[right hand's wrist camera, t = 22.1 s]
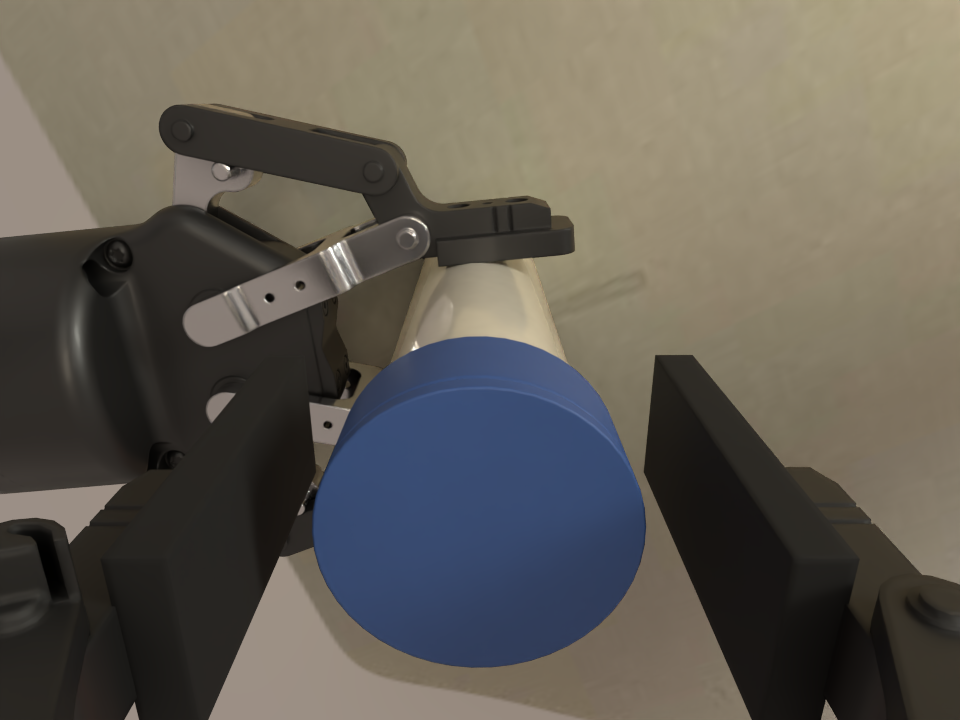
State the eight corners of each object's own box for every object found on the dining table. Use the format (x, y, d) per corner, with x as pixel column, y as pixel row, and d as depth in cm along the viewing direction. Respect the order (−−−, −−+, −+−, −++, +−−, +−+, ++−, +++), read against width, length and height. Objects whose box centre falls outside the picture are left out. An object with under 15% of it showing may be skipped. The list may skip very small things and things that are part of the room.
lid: (489, 273, 11) (492, 314, 9) (674, 473, 12) (713, 549, 10) (281, 457, 12) (240, 530, 10) (470, 621, 14) (469, 715, 12)
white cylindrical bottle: (451, 196, 25) (408, 348, 10) (552, 243, 26) (656, 452, 11) (408, 296, 27) (312, 562, 11) (505, 337, 27) (537, 643, 12)
